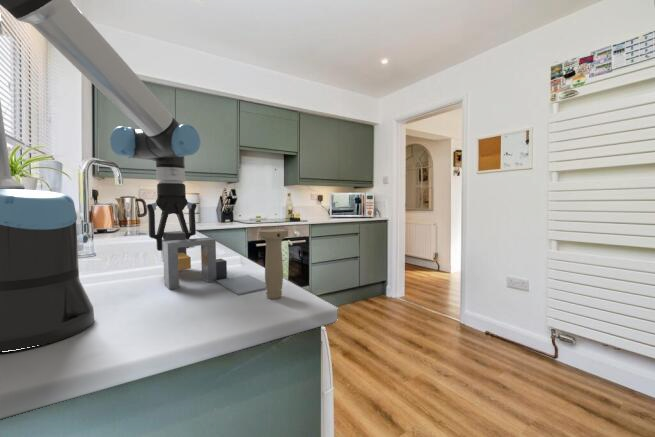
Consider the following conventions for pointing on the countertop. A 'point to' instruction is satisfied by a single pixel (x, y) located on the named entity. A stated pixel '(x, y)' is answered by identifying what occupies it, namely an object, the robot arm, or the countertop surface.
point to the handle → (273, 261)
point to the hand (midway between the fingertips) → (174, 259)
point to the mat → (243, 284)
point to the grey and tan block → (179, 249)
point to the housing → (210, 265)
